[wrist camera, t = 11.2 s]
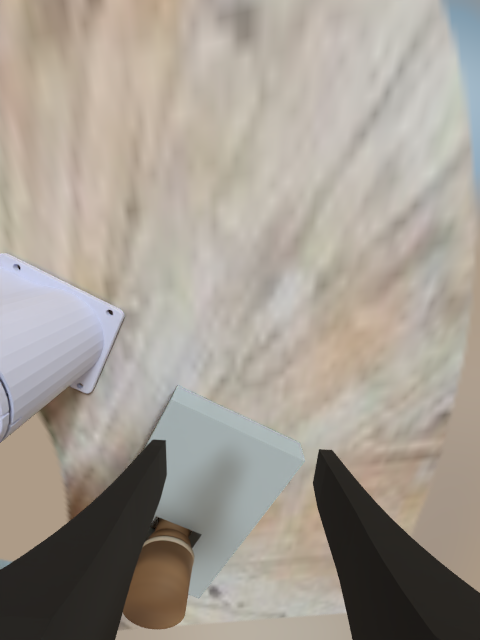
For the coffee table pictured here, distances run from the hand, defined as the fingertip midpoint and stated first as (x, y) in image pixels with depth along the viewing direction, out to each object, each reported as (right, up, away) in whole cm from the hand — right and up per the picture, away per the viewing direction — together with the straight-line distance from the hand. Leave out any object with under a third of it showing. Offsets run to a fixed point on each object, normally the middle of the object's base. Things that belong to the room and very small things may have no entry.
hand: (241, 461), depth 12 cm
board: (-5, -10, +13) cm, 17 cm away
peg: (-7, -13, +14) cm, 20 cm away
